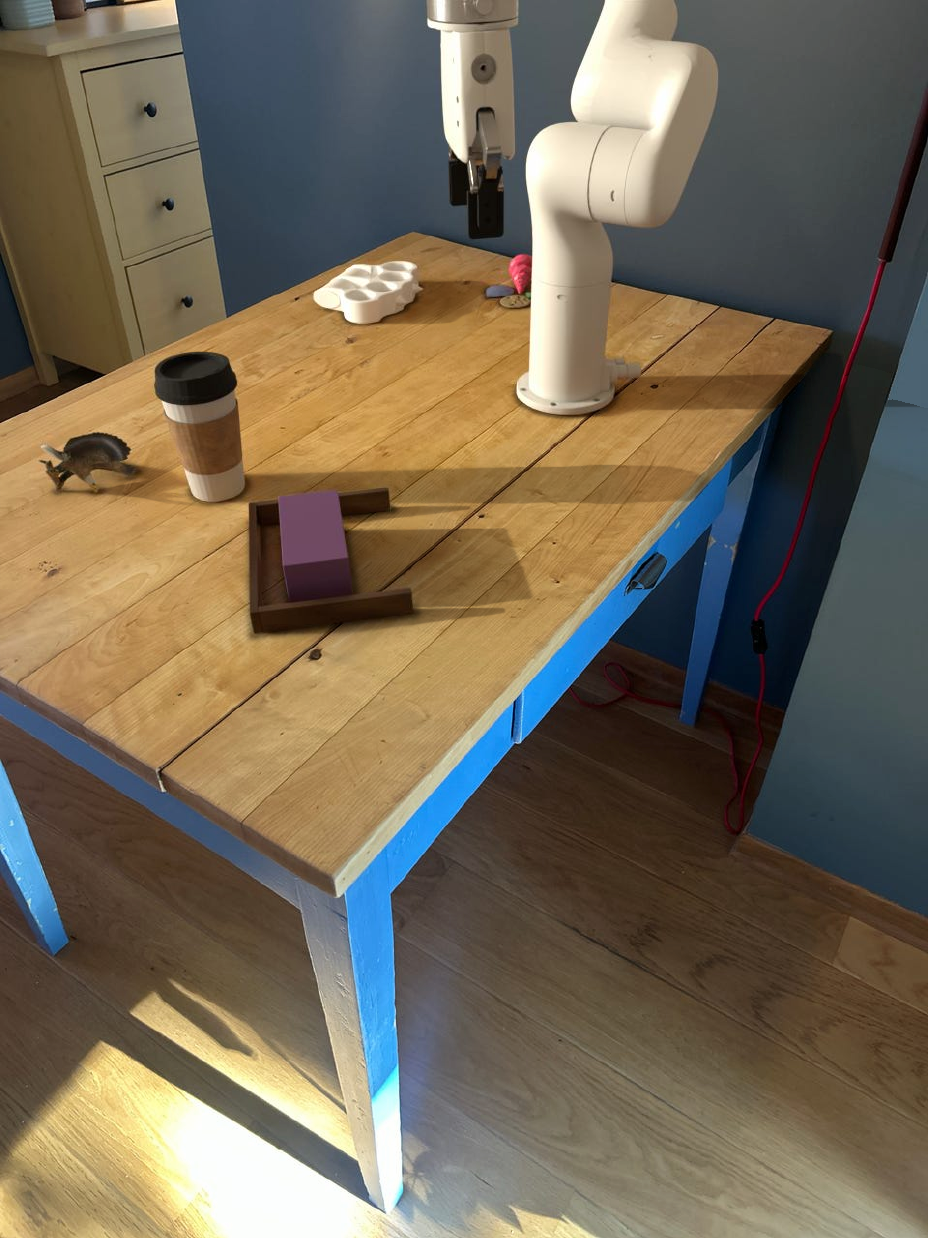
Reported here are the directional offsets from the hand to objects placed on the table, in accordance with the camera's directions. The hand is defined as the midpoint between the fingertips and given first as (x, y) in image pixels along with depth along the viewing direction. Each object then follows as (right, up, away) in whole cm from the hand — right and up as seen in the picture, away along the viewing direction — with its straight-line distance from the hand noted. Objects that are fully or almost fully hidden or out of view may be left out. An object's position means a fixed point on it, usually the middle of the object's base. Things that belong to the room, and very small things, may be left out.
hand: (475, 219), depth 88 cm
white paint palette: (-15, +12, +59) cm, 62 cm away
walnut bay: (-14, -32, +6) cm, 36 cm away
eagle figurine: (-43, -22, +19) cm, 52 cm away
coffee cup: (-29, -23, +18) cm, 41 cm away
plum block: (-16, -32, +6) cm, 36 cm away
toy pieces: (+8, +14, +60) cm, 63 cm away
